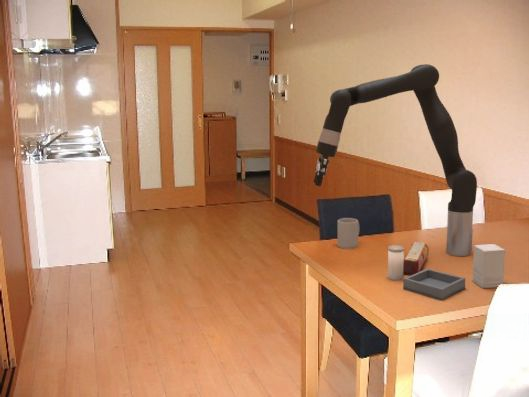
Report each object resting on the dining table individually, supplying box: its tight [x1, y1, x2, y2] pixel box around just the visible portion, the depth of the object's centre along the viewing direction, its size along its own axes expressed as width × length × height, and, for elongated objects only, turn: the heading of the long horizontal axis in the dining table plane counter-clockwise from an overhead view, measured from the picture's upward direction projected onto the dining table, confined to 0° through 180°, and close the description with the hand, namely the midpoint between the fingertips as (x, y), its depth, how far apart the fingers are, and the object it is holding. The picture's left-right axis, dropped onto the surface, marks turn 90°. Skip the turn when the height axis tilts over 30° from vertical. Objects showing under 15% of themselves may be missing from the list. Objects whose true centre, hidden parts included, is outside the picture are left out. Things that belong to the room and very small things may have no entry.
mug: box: [336, 217, 360, 250], centre depth 228 cm, size 12×8×11 cm
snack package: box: [403, 241, 430, 276], centre depth 200 cm, size 21×7×7 cm, turn 155°
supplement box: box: [472, 243, 506, 289], centre depth 180 cm, size 7×7×13 cm
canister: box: [387, 244, 405, 281], centre depth 188 cm, size 5×5×11 cm
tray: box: [402, 268, 466, 301], centre depth 178 cm, size 14×14×4 cm
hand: (316, 184), depth 206 cm, fingers open, 8 cm apart
